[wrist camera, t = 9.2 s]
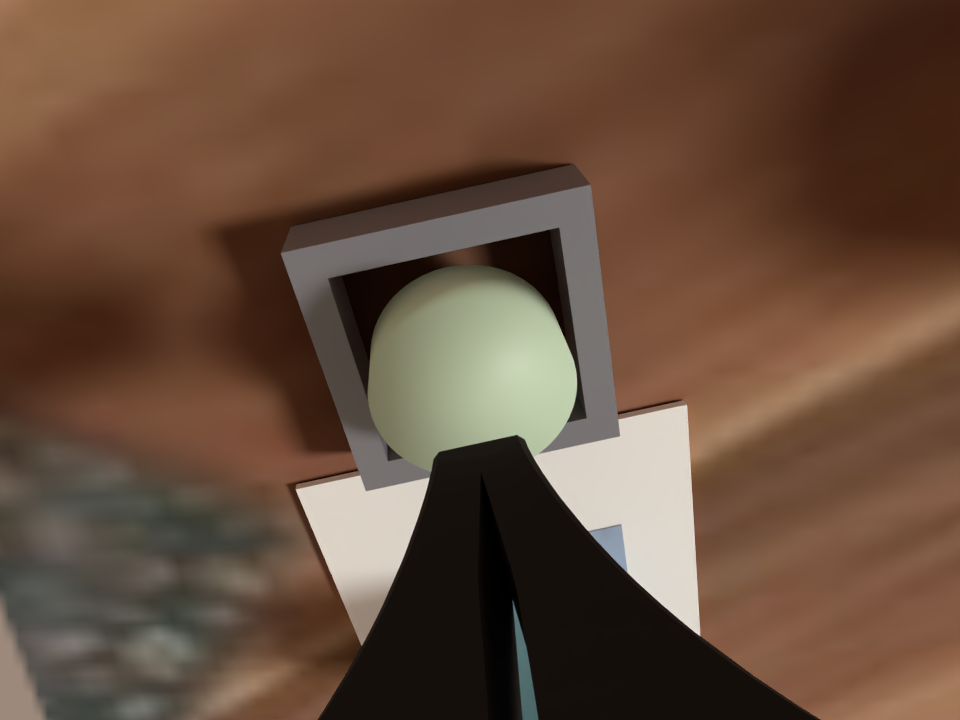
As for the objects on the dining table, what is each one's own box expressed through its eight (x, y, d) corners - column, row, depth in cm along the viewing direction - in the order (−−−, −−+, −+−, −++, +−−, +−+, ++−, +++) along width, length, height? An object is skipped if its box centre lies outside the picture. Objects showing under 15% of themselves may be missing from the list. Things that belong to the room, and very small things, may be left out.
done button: (572, 410, 16) (588, 453, 15) (397, 448, 16) (397, 494, 15) (546, 244, 14) (562, 277, 13) (347, 289, 14) (341, 326, 13)
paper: (702, 710, 25) (705, 717, 24) (416, 771, 25) (417, 778, 25) (684, 400, 18) (687, 405, 18) (296, 484, 18) (295, 490, 18)
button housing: (604, 401, 18) (620, 436, 17) (368, 451, 18) (365, 491, 17) (573, 164, 15) (590, 184, 14) (290, 226, 15) (281, 253, 14)
